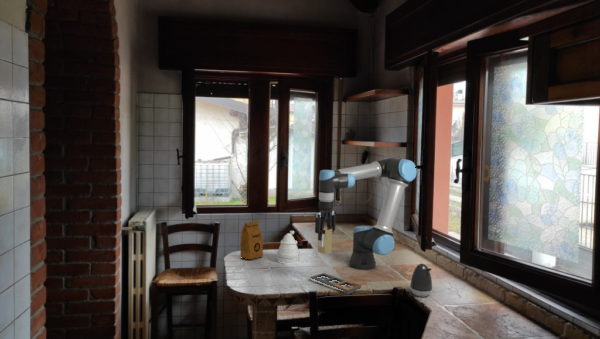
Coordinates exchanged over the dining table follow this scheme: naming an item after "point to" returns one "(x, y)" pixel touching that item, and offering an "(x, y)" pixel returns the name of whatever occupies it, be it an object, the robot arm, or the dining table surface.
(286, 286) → the dining table surface
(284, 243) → the honey pot
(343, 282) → the rail
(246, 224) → the coffee package
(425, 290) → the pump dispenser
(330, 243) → the brass peg
